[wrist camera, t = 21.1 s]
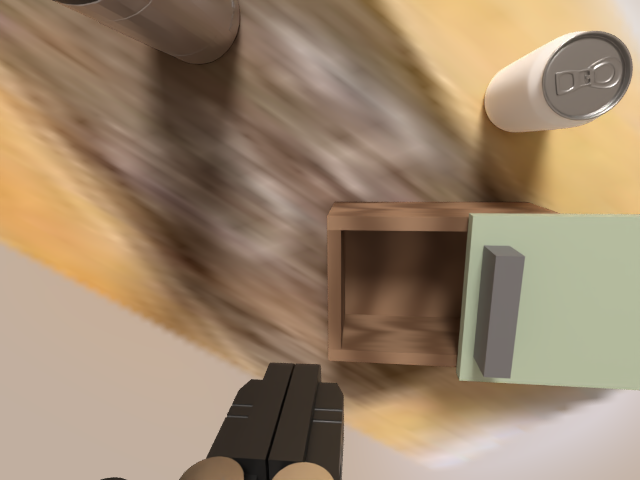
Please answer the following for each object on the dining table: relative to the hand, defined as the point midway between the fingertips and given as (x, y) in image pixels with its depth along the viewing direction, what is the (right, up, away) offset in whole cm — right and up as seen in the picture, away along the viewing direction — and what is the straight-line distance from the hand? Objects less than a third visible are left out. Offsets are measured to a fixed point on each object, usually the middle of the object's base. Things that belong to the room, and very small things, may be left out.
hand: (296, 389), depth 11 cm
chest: (+12, +2, +31) cm, 33 cm away
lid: (+23, -1, +20) cm, 31 cm away
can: (+20, +18, +26) cm, 38 cm away
